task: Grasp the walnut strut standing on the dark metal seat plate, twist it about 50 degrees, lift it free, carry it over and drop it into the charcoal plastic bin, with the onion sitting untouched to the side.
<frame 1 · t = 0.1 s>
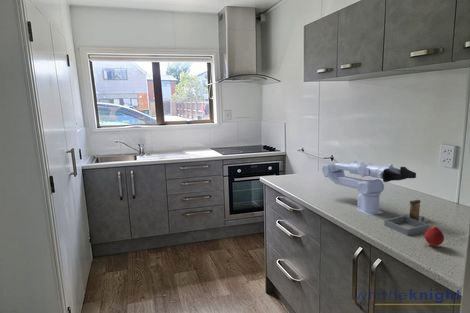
hand: (408, 176, 124), 22 cm above the worktop, tool horizontal, fingers open, 7 cm apart
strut: (414, 218, 135), point 1 cm above the worktop, touching seat plate
seat plate: (414, 219, 135), on the worktop
bin: (405, 229, 125), on the worktop
onion: (433, 246, 110), on the worktop
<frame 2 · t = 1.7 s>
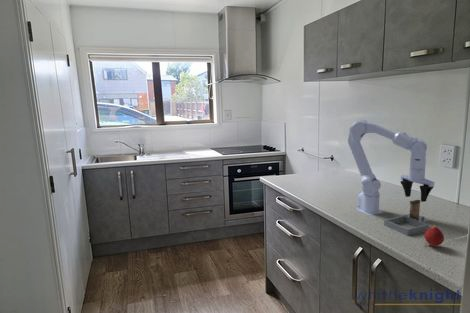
hand: (415, 198, 133), 9 cm above the worktop, tool pointing down, fingers open, 7 cm apart
nothing on the worktop moved.
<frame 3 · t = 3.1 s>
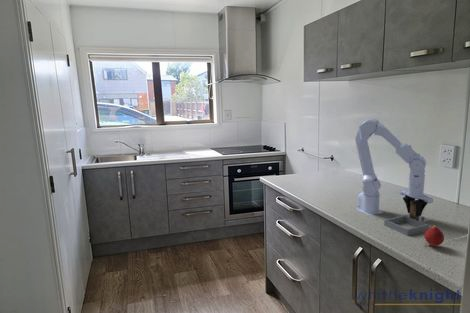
hand: (414, 214, 135), 2 cm above the worktop, tool pointing down, fingers closed on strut, 4 cm apart
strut: (414, 218, 135), point 1 cm above the worktop, touching gripper, seat plate
everything else where it was.
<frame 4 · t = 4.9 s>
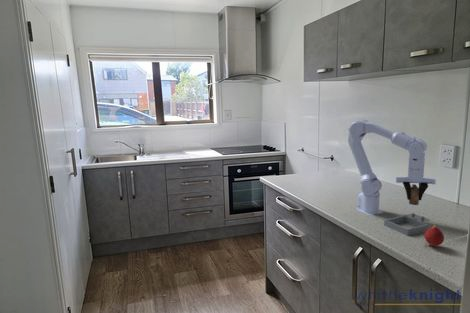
hand: (414, 199, 132), 10 cm above the worktop, tool pointing down, fingers closed on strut, 4 cm apart
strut: (413, 203, 132), point 8 cm above the worktop, touching gripper
everything else where it was.
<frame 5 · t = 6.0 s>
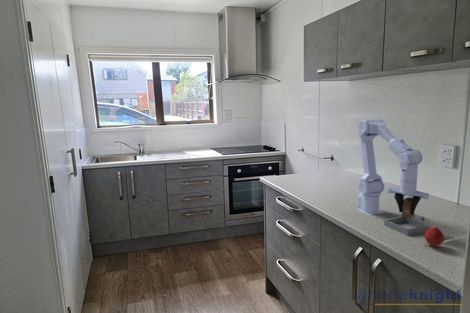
hand: (406, 212, 124), 7 cm above the worktop, tool pointing down, fingers closed on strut, 4 cm apart
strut: (406, 217, 125), point 5 cm above the worktop, touching gripper
everything else where it was.
when the fingers open (4 cm above the worktop, at t = 6.9 s): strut drops 2 cm, resting on bin.
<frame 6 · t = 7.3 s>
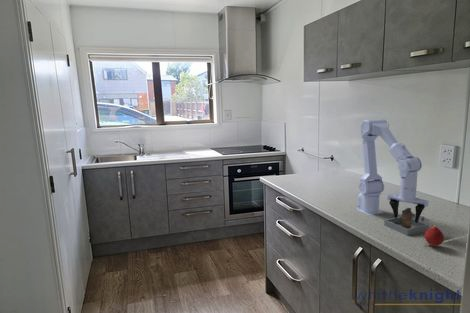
hand: (406, 219, 125), 4 cm above the worktop, tool pointing down, fingers open, 7 cm apart
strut: (405, 227, 125), point 1 cm above the worktop, touching bin
everything else where it was.
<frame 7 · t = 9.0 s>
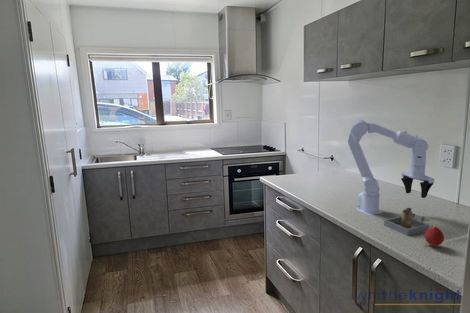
hand: (415, 195, 137), 10 cm above the worktop, tool pointing down, fingers open, 7 cm apart
nothing on the worktop moved.
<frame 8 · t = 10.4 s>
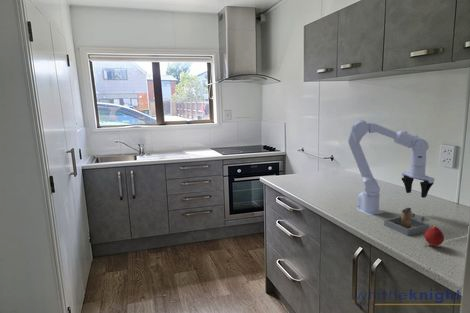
hand: (416, 194, 138), 10 cm above the worktop, tool pointing down, fingers open, 7 cm apart
nothing on the worktop moved.
at the end: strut inside the target area on the bin (0.2 cm from its centre), point 0.6 cm above the bin's base; the gripper is holding nothing; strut moved 13.3 cm from its start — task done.
